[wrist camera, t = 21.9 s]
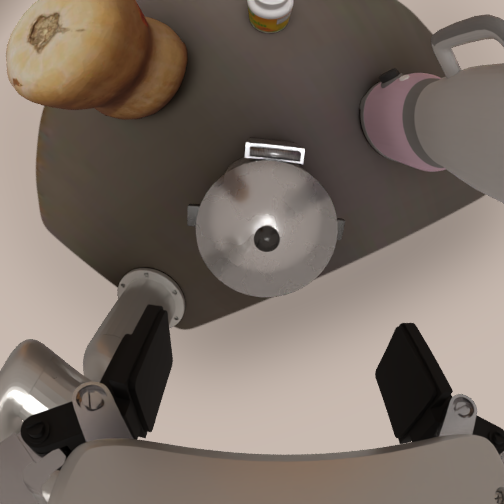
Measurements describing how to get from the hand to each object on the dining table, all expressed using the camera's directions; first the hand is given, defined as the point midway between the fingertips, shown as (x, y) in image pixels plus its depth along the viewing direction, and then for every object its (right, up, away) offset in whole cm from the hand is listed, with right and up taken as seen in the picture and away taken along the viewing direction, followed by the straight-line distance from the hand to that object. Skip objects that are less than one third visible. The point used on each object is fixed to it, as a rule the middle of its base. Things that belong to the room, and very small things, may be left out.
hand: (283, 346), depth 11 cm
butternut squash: (-16, +29, +23) cm, 40 cm away
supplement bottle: (+1, +36, +19) cm, 40 cm away
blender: (+19, +24, +24) cm, 39 cm away
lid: (0, +7, +20) cm, 21 cm away
